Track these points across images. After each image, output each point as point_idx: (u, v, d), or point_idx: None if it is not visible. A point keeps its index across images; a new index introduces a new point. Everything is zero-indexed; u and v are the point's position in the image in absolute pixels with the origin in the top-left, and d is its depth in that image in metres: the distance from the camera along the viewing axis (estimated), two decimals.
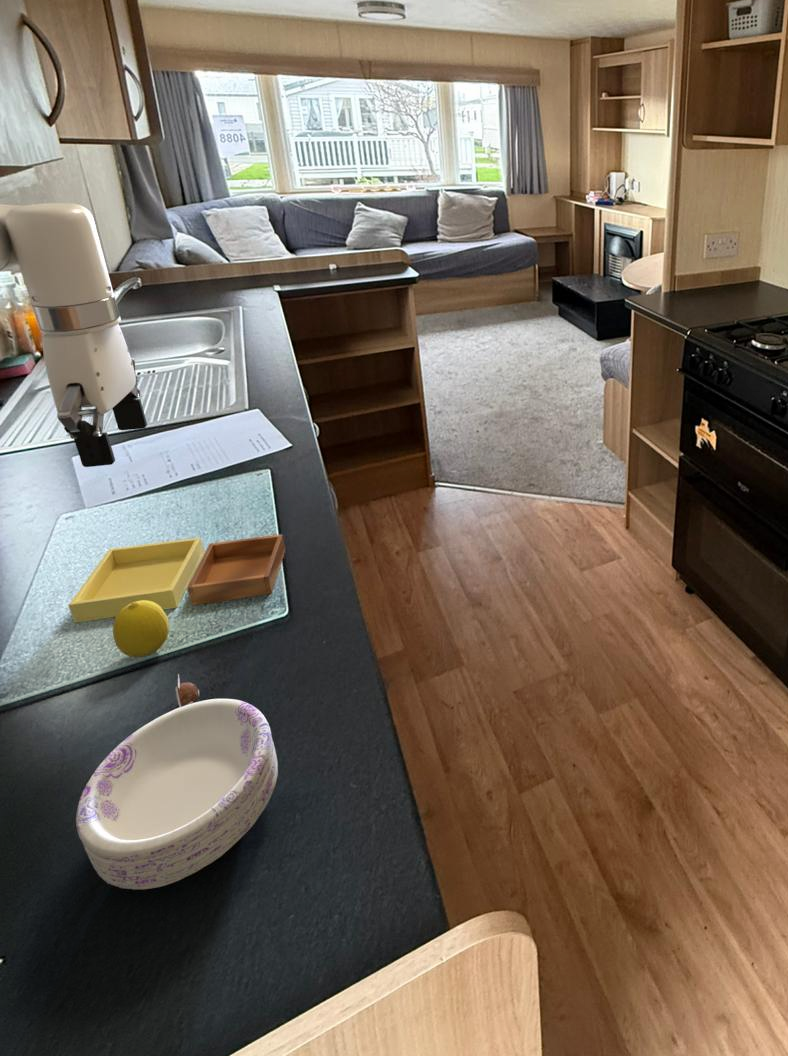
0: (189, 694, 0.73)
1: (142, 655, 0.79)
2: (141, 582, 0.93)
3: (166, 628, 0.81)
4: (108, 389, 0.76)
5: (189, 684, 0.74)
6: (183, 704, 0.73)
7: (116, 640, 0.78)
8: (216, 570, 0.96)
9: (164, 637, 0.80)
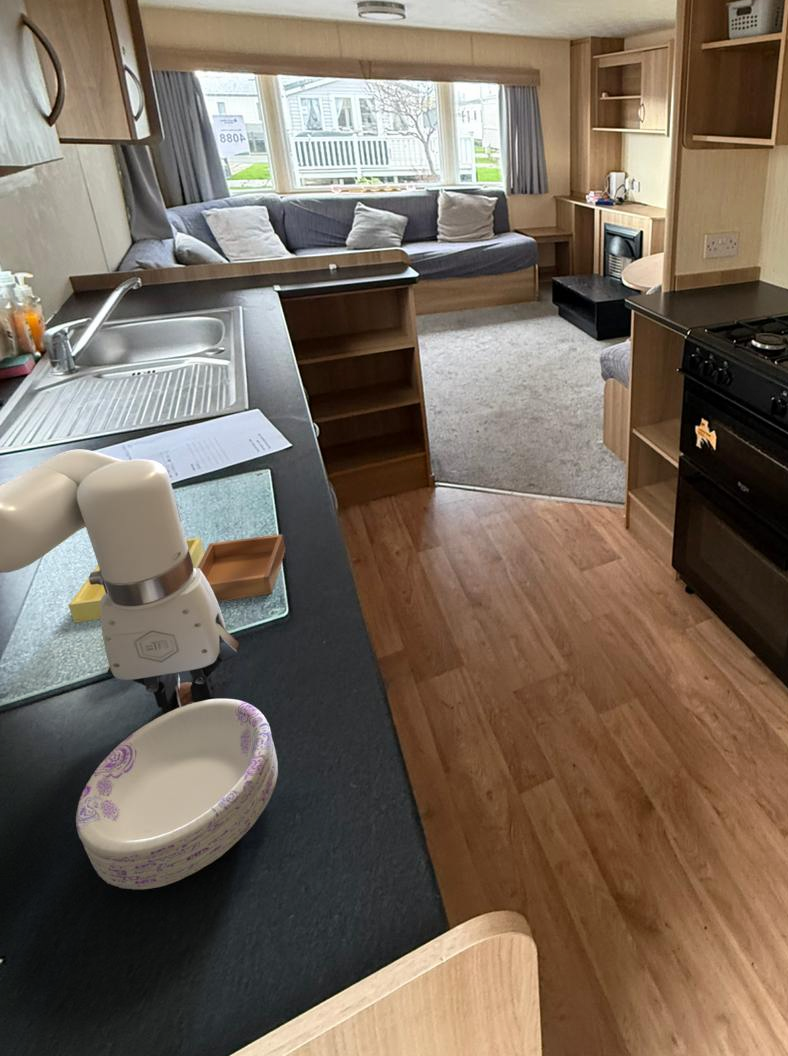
0: (189, 694, 0.73)
1: None
2: None
3: None
4: None
5: (189, 684, 0.74)
6: (183, 704, 0.73)
7: None
8: (216, 570, 0.96)
9: None
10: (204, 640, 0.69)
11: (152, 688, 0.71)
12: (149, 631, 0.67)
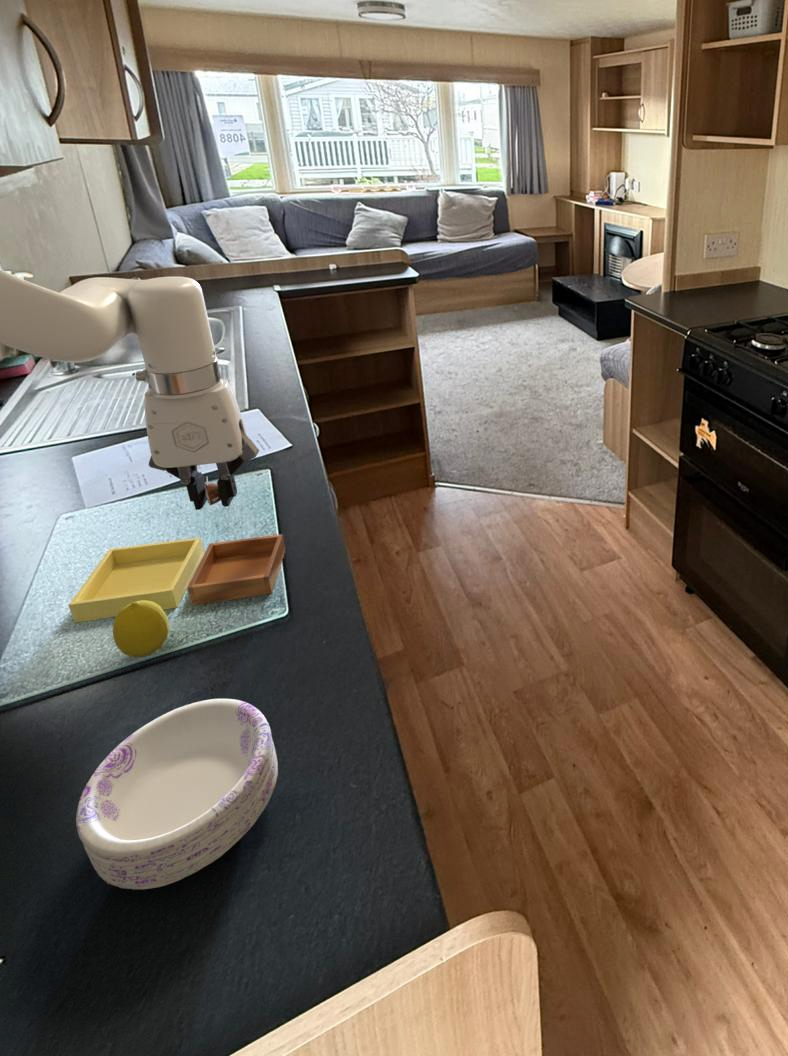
0: (216, 491, 0.87)
1: (142, 655, 0.79)
2: (141, 582, 0.93)
3: (166, 628, 0.81)
4: None
5: (215, 484, 0.87)
6: (211, 498, 0.86)
7: (116, 640, 0.78)
8: (216, 570, 0.96)
9: (164, 637, 0.80)
10: (229, 435, 0.82)
11: (185, 480, 0.84)
12: (184, 422, 0.80)
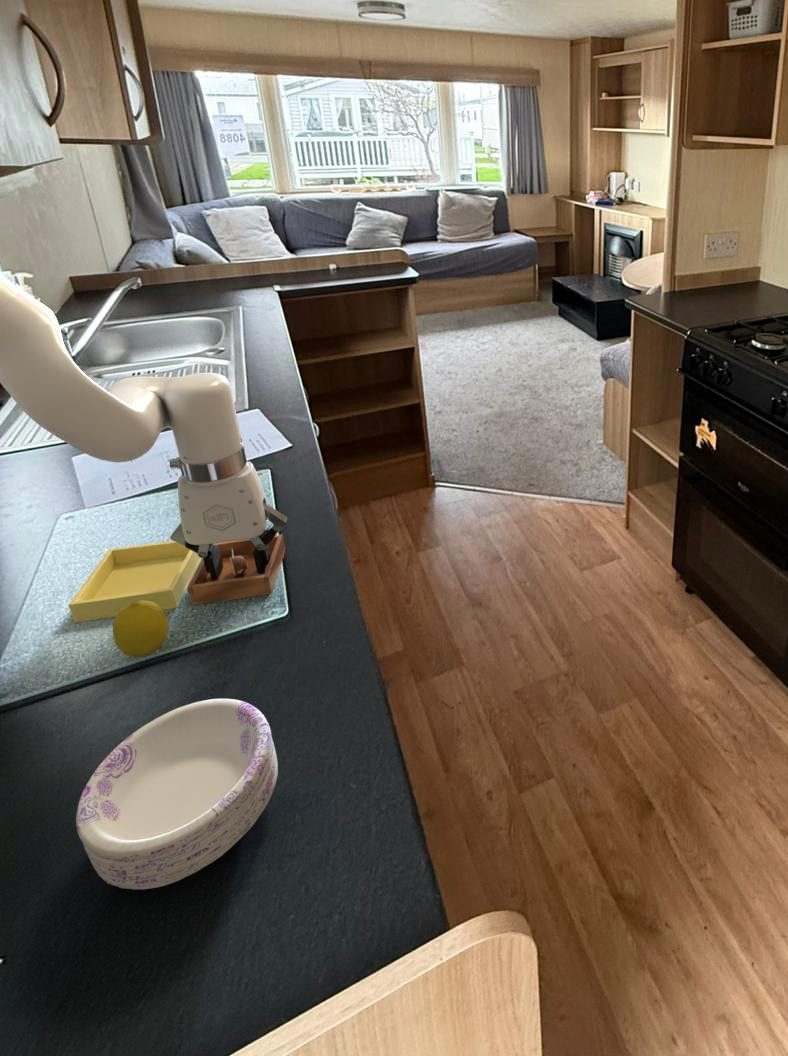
0: (241, 563, 0.94)
1: (142, 655, 0.79)
2: (141, 582, 0.93)
3: (166, 628, 0.81)
4: None
5: (240, 556, 0.95)
6: (236, 570, 0.93)
7: (116, 640, 0.78)
8: None
9: (164, 637, 0.80)
10: (255, 515, 0.90)
11: (202, 555, 0.91)
12: (214, 505, 0.88)
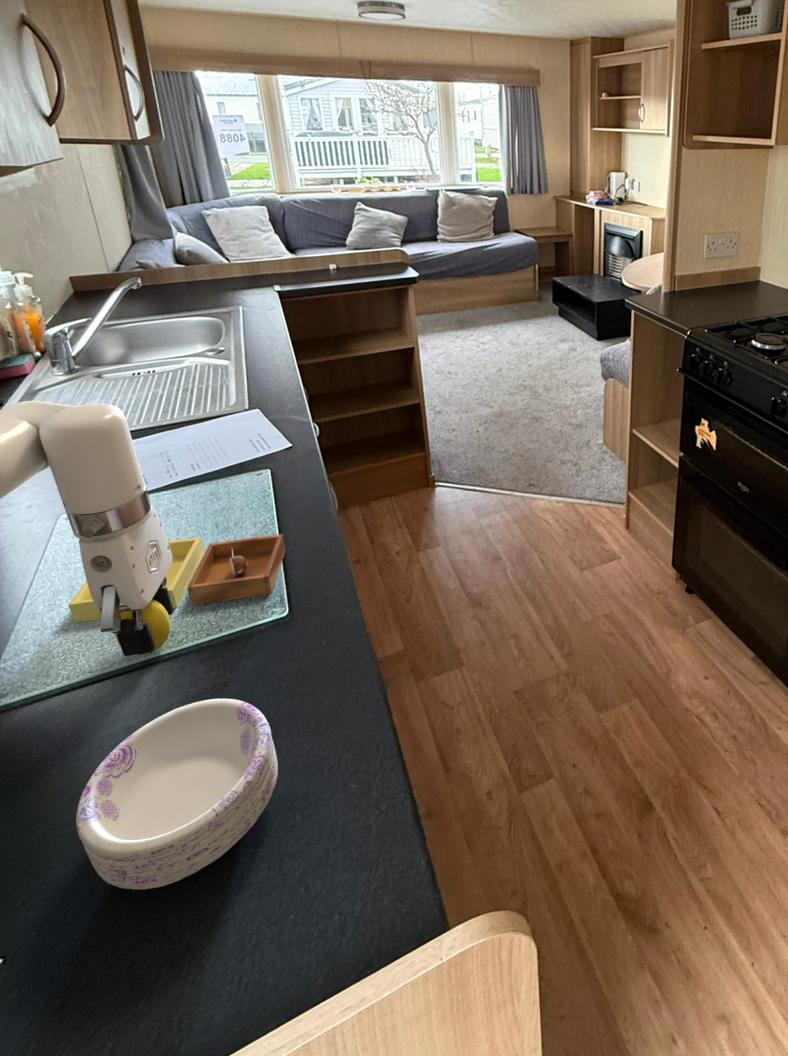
0: (241, 563, 0.94)
1: None
2: None
3: (168, 626, 0.81)
4: None
5: (240, 556, 0.95)
6: (236, 570, 0.93)
7: None
8: (216, 570, 0.96)
9: (166, 635, 0.81)
10: (165, 538, 0.81)
11: (139, 625, 0.76)
12: (148, 543, 0.76)
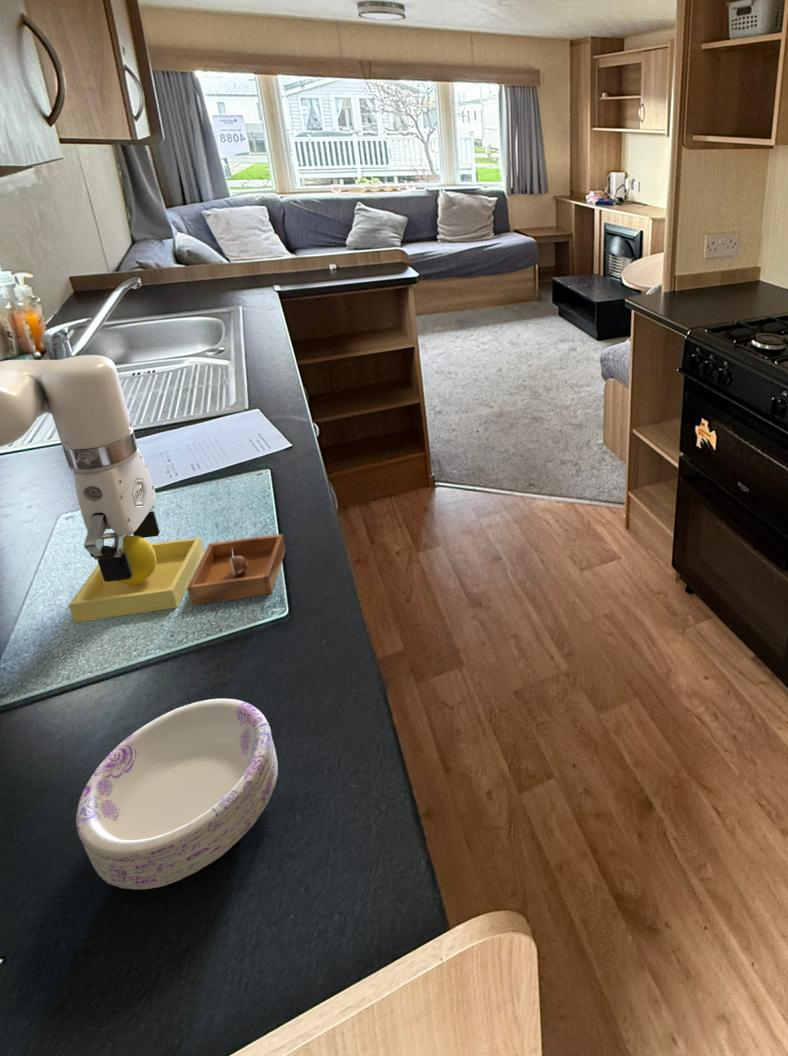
0: (241, 563, 0.94)
1: (133, 582, 0.90)
2: None
3: (154, 559, 0.92)
4: None
5: (240, 556, 0.95)
6: (236, 570, 0.93)
7: None
8: (216, 570, 0.96)
9: (152, 567, 0.92)
10: (150, 479, 0.92)
11: (118, 553, 0.85)
12: (134, 480, 0.87)
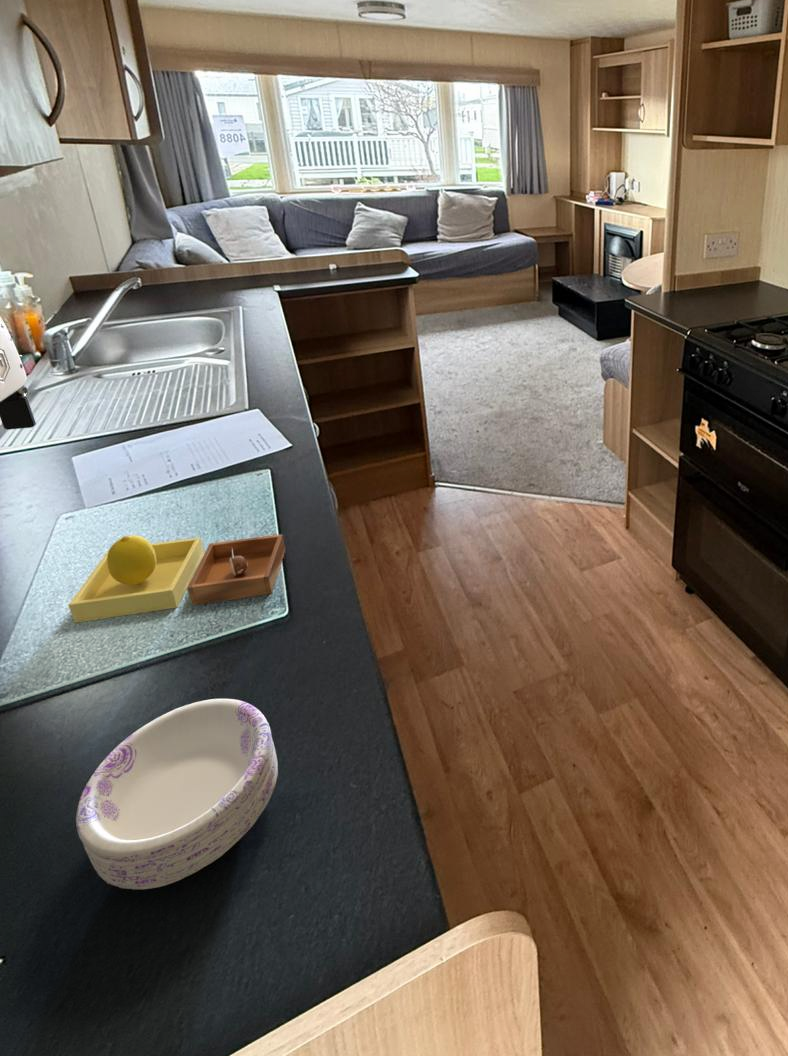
0: (241, 563, 0.94)
1: (133, 582, 0.90)
2: None
3: (154, 559, 0.92)
4: None
5: (240, 556, 0.95)
6: (236, 570, 0.93)
7: (110, 568, 0.89)
8: (216, 570, 0.96)
9: (152, 567, 0.92)
10: (18, 355, 0.78)
11: None
12: None
